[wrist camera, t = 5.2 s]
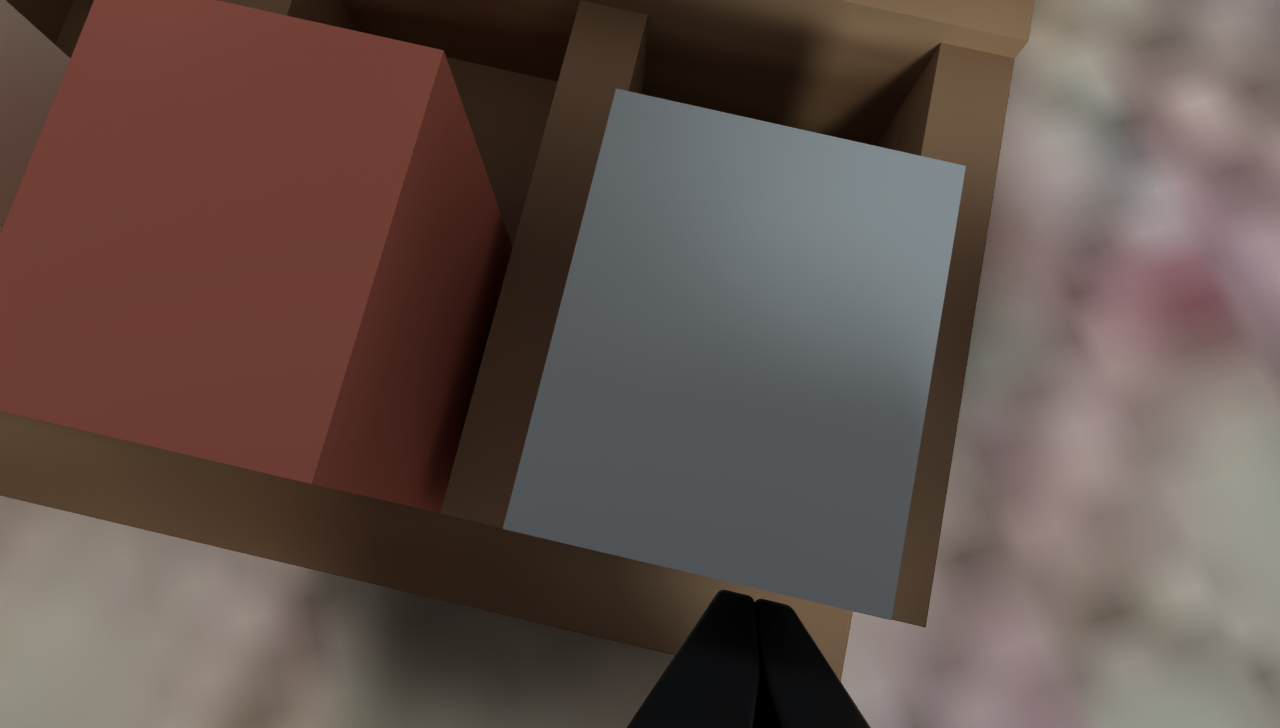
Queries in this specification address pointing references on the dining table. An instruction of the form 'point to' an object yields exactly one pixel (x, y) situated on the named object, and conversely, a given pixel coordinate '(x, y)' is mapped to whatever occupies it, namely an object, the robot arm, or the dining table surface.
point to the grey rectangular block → (743, 354)
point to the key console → (537, 273)
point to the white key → (23, 96)
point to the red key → (254, 249)
